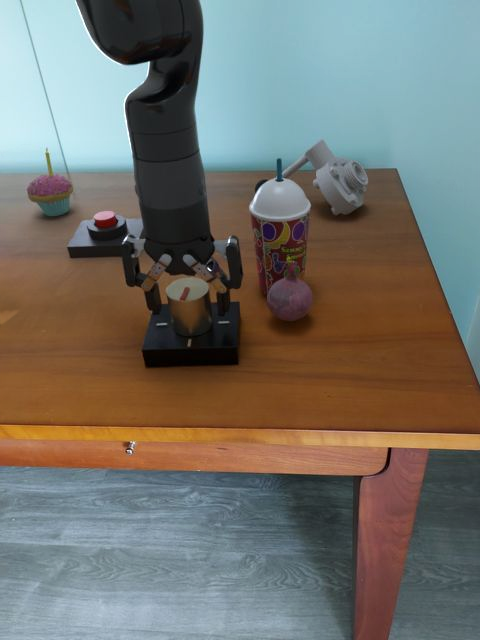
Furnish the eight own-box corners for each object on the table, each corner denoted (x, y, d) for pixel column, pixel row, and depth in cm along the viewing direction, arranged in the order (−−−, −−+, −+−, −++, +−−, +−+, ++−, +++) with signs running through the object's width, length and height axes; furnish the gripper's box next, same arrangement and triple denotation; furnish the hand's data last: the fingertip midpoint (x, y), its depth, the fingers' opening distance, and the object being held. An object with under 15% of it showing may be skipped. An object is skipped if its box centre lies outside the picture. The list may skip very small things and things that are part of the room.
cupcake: (56, 199, 110) (38, 141, 102) (88, 206, 107) (71, 146, 99) (25, 217, 104) (4, 156, 96) (58, 224, 101) (38, 161, 93)
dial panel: (145, 367, 68) (140, 348, 66) (157, 321, 75) (153, 302, 73) (238, 364, 67) (236, 345, 65) (240, 318, 75) (239, 300, 73)
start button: (93, 229, 90) (91, 220, 89) (98, 220, 93) (96, 211, 92) (114, 229, 90) (112, 219, 89) (119, 219, 93) (116, 210, 92)
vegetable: (317, 313, 75) (320, 251, 69) (303, 338, 71) (303, 275, 65) (278, 305, 77) (277, 244, 71) (261, 329, 73) (258, 266, 67)
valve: (304, 238, 112) (261, 179, 109) (381, 187, 100) (336, 119, 96) (287, 258, 105) (240, 195, 101) (368, 205, 92) (319, 132, 89)
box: (70, 258, 90) (63, 237, 88) (85, 231, 98) (79, 211, 96) (139, 255, 90) (135, 234, 88) (149, 228, 98) (145, 208, 95)
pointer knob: (178, 310, 72) (172, 274, 68) (217, 312, 71) (212, 276, 67) (167, 335, 68) (160, 297, 64) (208, 337, 67) (203, 300, 63)
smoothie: (293, 311, 76) (293, 175, 63) (244, 297, 79) (234, 165, 66) (317, 282, 81) (322, 153, 69) (270, 270, 85) (266, 144, 72)
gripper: (240, 178, 60) (247, 297, 70) (119, 178, 61) (143, 294, 72) (231, 207, 54) (240, 331, 65) (97, 206, 55) (128, 328, 66)
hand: (189, 312), depth 68 cm, fingers open, 8 cm apart
